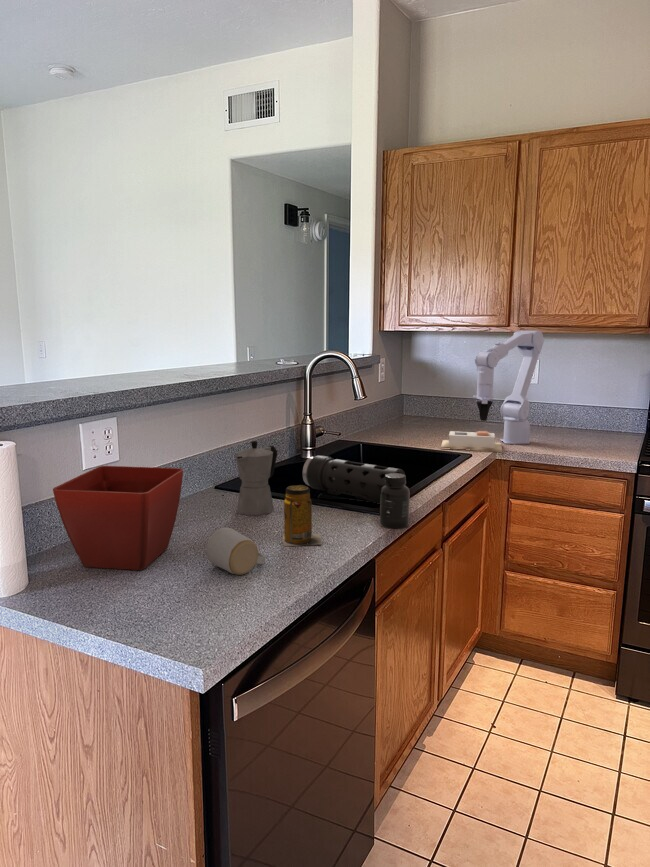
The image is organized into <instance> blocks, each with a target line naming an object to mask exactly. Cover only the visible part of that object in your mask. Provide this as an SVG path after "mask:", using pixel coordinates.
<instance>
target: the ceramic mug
mask: <svg viewBox="0 0 650 867" xmlns="http://www.w3.org/2000/svg"><path fill="white" fill-rule="evenodd" d="M205 553H206V557H207V559H208V561H209V562H210V563H212V565H215V566H216V567H218V568H220V569H223V570H225V571H227V572H228V573H230V574H233V575H238V576H243V575H246V574H247V573H249V572H250V571H252V569H253V568H254V567H255V566H256V565H263V564H264V563H265V559H266V556H265V555H263V554H261V553H259V549H258V546H257V544H256V543H255V542H254V541H253V540H252V539H250V538H249V537H248V536H245V535H243V534H241V533H240V532H239V531H236V530H235V529H233V528H230V527H220V528H219V529H217V530H215V531H214V532H213V533H212V534H211V535H210V537H209V539H208V541H207V544H206V550H205Z"/></svg>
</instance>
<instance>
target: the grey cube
mask: <svg viewBox="0 0 650 867" xmlns="http://www.w3.org/2000/svg"><path fill="white" fill-rule="evenodd" d="M463 432H464V431H456V435H467V433H463Z"/></svg>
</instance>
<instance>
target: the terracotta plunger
mask: <svg viewBox="0 0 650 867" xmlns="http://www.w3.org/2000/svg"><path fill="white" fill-rule="evenodd" d="M476 432H477V436H488V433H489V431H487V430H477V431H476Z"/></svg>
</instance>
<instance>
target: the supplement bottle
mask: <svg viewBox="0 0 650 867" xmlns="http://www.w3.org/2000/svg"><path fill="white" fill-rule="evenodd" d="M385 484H386V485H384V486H383V487H382V488H381V493H380V503H379V523H380V525H381V526H382V527H384V528H388V529H393V530H398V529H399V530H400V529H404V528H407V527H408V525H409V523H410V522H409V521H410V496H411V493H410V488H409V487H408V486H407V476H406V474H405V475H404V474H399V473H390V474H386V475H385ZM405 484H406V486H405Z"/></svg>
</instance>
